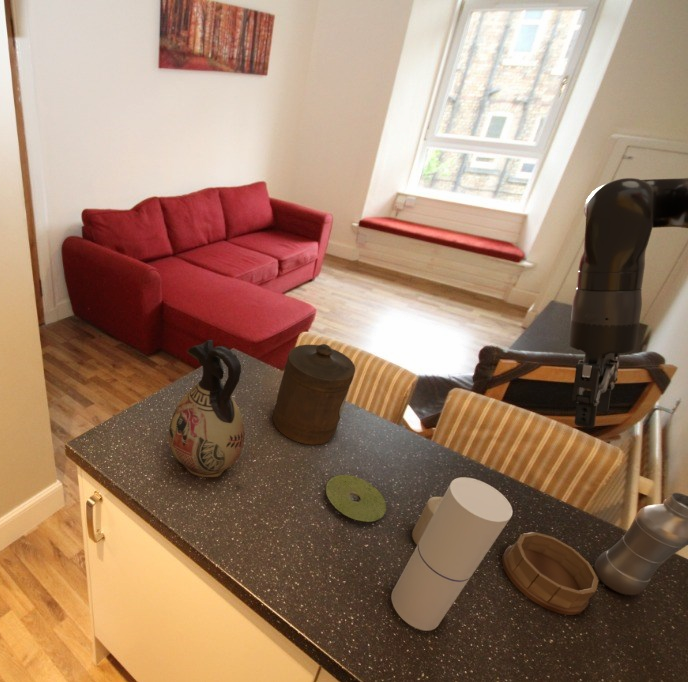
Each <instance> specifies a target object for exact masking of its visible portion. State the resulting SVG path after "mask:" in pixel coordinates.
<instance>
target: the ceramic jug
mask: <svg viewBox="0 0 688 682" xmlns="http://www.w3.org/2000/svg"><path fill="white" fill-rule="evenodd" d="M186 352H187V354H189V355H190V356H192V357H193V358H195V360H197V362H198V363H199V364H200V365H201V366H202V377H201V379H200V380H199V381H198V383H197V384H196V385H194V386H193V387H192V388H191V389H190V390H189V391H188V392H187V393H186V395H184V396H183V397H182V399H181V400H180V401H179V402H178V404H177V405H176V407H175V409H174V412H173V414H172V416H171V420H170V423H169V427H168V443H169V447H170V450H171V452H172V455H173V456H174V457H175V459H176V460H177V461H178V462H179V463H180V464H182V465H183V466H184V467H185V469H186V470H187V471H188V472H190V474H192V475H194V476H197V477H201V478H216V477H220V476H222V474H223V473H224V471H225V470H227V469H229V468H230V467H231V466H233V465H234V463H235V462H236V461H237V460H238V458H239V457H240V456H241V453H242V452H243V448H244V444H245V435H246V434H245V433H246V432H245V425H244V421H243V416H242V413H241V411H240V408H239V406H238V405H237V402H236V401H235V399H234V397H233V396H232V395H233V393H234V391H235V389H236V388H237V386H238V385H239V382H240V379H241V373H242V364H241V361H240V360H239V358H238V356H237V355H236V354H235V353H234V352H232V350H231V349H230V348H229V347H227V346H224V345H218V346H215V347H214V340H213V339H209V340H206V341H205V342H203V343H200V344H198V345H197V344H195V345H193V346H191V347H189V348H188V349H186ZM221 361H222V362H223V363H222V362H221ZM223 364H224V365H225V366H226V368H227V379H226V381H225V382H224V384H223V383H222V380H223V379H224V376H225V375H224V373H225V372H224V366H223Z"/></svg>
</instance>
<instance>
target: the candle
mask: <svg viewBox="0 0 688 682" xmlns="http://www.w3.org/2000/svg"><path fill="white" fill-rule="evenodd" d="M443 497H444V496H432V497H430V498H429V499H428V501H427V502H426V504H425V506H424V508H423V510H422V512H421V514H420V515H419V518H418V520H417V521H416V523H415V525H414V527H413V530H412V531H411V537H412V540H413V542H414V544H415V545H416V546H417V545H418V543H419V541H420V539H421V537H422V536H423V534H424V532H425V530H426V528H427V526H428V524H429V523H430V521H431V519H432V517H433V515H434V513H435V512H436V510H437V508H438V506H439V504H440V502H441V500H442V499H443Z"/></svg>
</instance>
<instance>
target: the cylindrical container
mask: <svg viewBox="0 0 688 682" xmlns="http://www.w3.org/2000/svg"><path fill="white" fill-rule="evenodd" d="M442 497H443V499H442V500H441V502H440V504H439V506H438V508H437V510H436V512H435V513H434V515H433V517H432V519H431V521H430V523H429V524H428V526H427V528H426V530H425V532H424V534H423V536H422V537H421V539H420V541H419V543H418V545H417V544H416V546H415V549H414V551H413V553H412V554H411V556H410V558H409V560H408V562H407V563H406V566H405V567H404V569H403V571H402V572H401V575H400V576H399V579H398V580H397V582H396V584H395V586H394V587H393V589H392V592H391V595H390V597H391V598H390V599H391V603H392V607H393V608H394V610H395V612H396V613H397V615H398V616H399V617H400V618H401V619H402V620H403V621H404V622H405V623H406V624H408V625H409V626H411V627H412V628H415V629H417V630H419V631H426V632H427V631H428V632H429V631H433V630H435V629H437V628H438V627H439V625H440V624H441V623H442V621H443V619H444V617H445V616H446V614H447V613H448V612H449V610H450V609H451V608H452V606H453V604H454V603H455V601H456V600H457V598H458V597H459V596H460V594H461V592H462V591H463V589H464V588H465V587H466V585H467V583H468V582H469V580H470V579H471V577H473V574H474V573H475V571H476V570H477V569H478V567H479V566H480V564H481V563H482V561H483V560H484V558H485V557H486V555H487V553H488V552H489V551H490V549H491V547H492V546H493V545H494V543H495V542H496V540H497V539H498V537H499V535H500V534H501V533H502V531H503V530H504V528H505V527H506V525H507V524H508V523H509V521H510V520H511V518H512V516H513V507H512V505H511V503H510V502H509V500H508V499H507V497H505V495H504V494H503V493H502V492H500V491H499V490H497V488H495V487H493V486H492V485H490V484H488V483H486V482H484V481H482V480H479V479H476V478H472V477H465V476H463V477H462V476H461V477H457V478H454V479H452V481H451V482H450V484H449V486H448V488H447V490H446V491H445V492H444V495H443V496H442Z"/></svg>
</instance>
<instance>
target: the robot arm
mask: <svg viewBox="0 0 688 682" xmlns="http://www.w3.org/2000/svg"><path fill="white" fill-rule="evenodd" d="M583 213H584V214H583V215H584V217H585V226H584V229H585V230H584V243H583V248H584V249H583V252H582V254H581V257H580V260H579V264H578V272H577V279H576V289H575V294H574V297H573V300H572V304H571V315H570V322H569V323H570V324H569V333H568V342H567V343H568V346H569V347H570V348H572V349H574V350H577V351H582V352H583V353H584V356H583V358H582V359H583V360H582V359H579V360H578V362H577V363H576V365H575V366H574V367H575V372H574V381H573V388H572V395H571V401H572V402H574V403H576V405H575V413H574V414H575V415H574V425H575V426H577V427H581V428H585V429H593V428H594V427H595V425H596V419H597V412H599V413H607V412H608V411H609V409H610V401H611V394H612V390H613V389H614V388H615V384H616V383H617V382H618V373H619V372H618V371H619V366H620V355H622V354H627V353H631V352H633V351H635V350H636V348H637V342H638V335H639V329H640V322H641V321H640V320H641V315H642V308H643V298H642V290H643V289H642V288H643V281H644V273H645V268H646V250H647V247H648V244H649V241H650V237H651V235H652V231H653V229H656V228H682V229H688V177H683V178H653V179H651V178H650V179H639V178H633V177H625V178H618V179H614V180H612V181H609V182H607V183H605V184H602V185H601V186H599V187H597V188H596V189H594V190H593V191H592V192H591V193H590V195H589V196H588V197H587V199H586V200H585V203H584V205H583ZM585 391H590V395H584V392H585Z"/></svg>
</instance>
